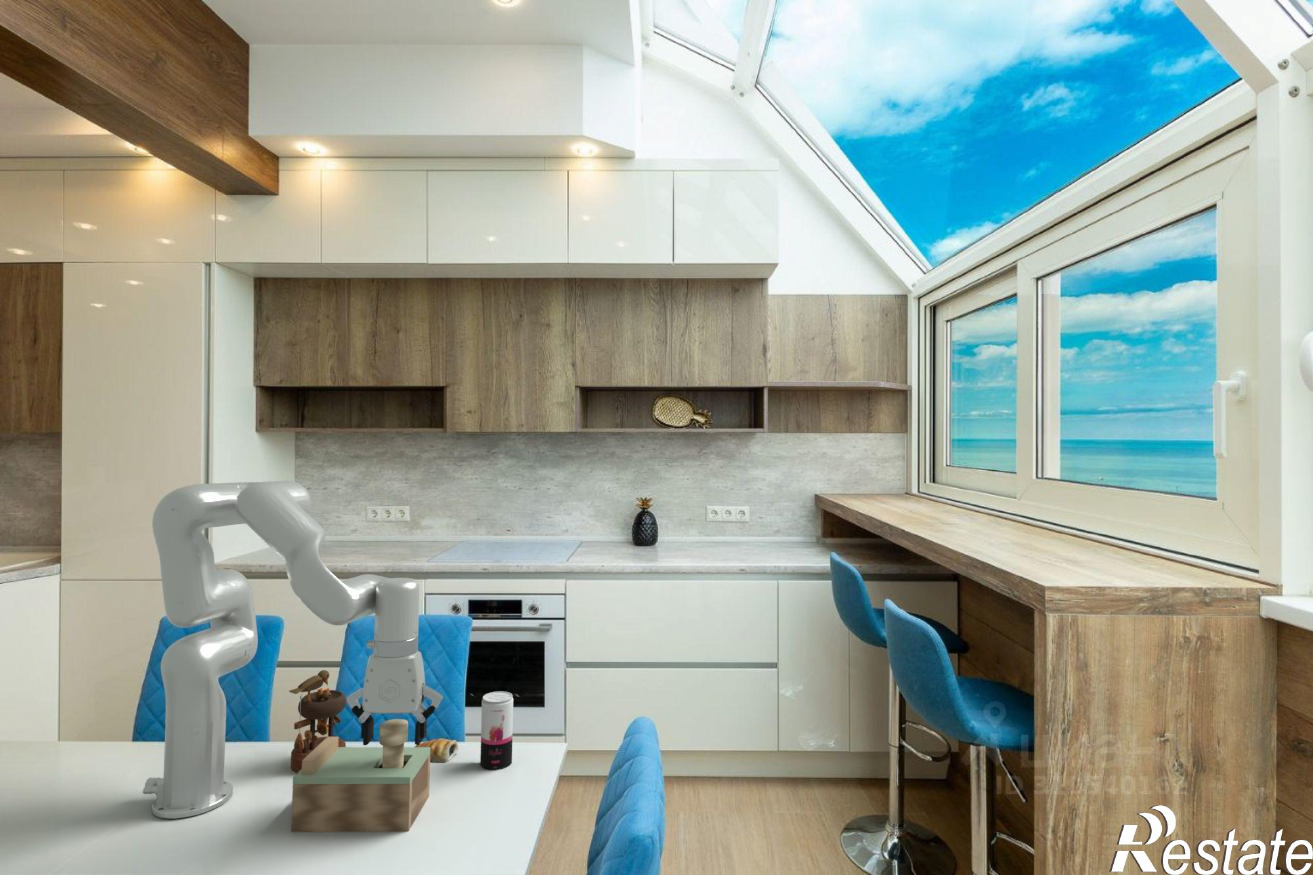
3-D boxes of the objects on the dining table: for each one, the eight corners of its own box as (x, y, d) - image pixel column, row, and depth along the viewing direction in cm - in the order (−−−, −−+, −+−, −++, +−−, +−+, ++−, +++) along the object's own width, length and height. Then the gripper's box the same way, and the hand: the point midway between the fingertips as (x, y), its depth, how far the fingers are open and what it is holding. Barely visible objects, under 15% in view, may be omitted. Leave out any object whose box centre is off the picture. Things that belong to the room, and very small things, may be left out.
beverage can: (500, 777, 139) (502, 703, 139) (473, 771, 141) (475, 699, 142) (517, 763, 145) (519, 693, 146) (491, 758, 147) (493, 689, 148)
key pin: (373, 819, 120) (375, 729, 121) (383, 805, 125) (385, 718, 125) (400, 819, 120) (403, 729, 121) (409, 805, 125) (411, 718, 126)
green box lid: (292, 784, 116) (293, 763, 116) (324, 753, 128) (324, 734, 128) (409, 783, 117) (410, 763, 117) (430, 753, 129) (430, 734, 129)
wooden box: (291, 837, 116) (292, 784, 116) (322, 801, 128) (324, 753, 128) (408, 836, 117) (409, 784, 117) (429, 801, 129) (430, 753, 129)
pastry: (406, 760, 146) (407, 743, 146) (423, 748, 153) (423, 731, 153) (446, 765, 144) (447, 747, 144) (461, 752, 151) (461, 735, 151)
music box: (320, 780, 136) (316, 680, 137) (273, 779, 138) (269, 680, 139) (366, 748, 151) (362, 658, 152) (323, 747, 153) (319, 659, 154)
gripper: (339, 652, 119) (336, 751, 119) (438, 653, 120) (435, 750, 120) (356, 641, 127) (354, 733, 126) (449, 641, 128) (447, 733, 127)
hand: (393, 741), depth 123 cm, fingers open, 8 cm apart
